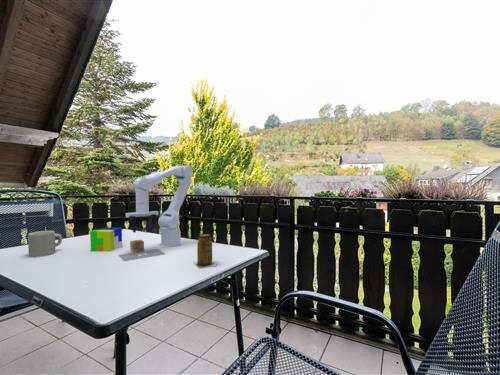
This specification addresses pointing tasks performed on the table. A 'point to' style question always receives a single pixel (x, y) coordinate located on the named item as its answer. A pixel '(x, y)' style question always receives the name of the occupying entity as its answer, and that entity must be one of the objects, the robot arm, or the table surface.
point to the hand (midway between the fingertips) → (142, 231)
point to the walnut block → (137, 246)
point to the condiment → (204, 251)
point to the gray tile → (141, 254)
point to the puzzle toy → (106, 239)
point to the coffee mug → (42, 243)
